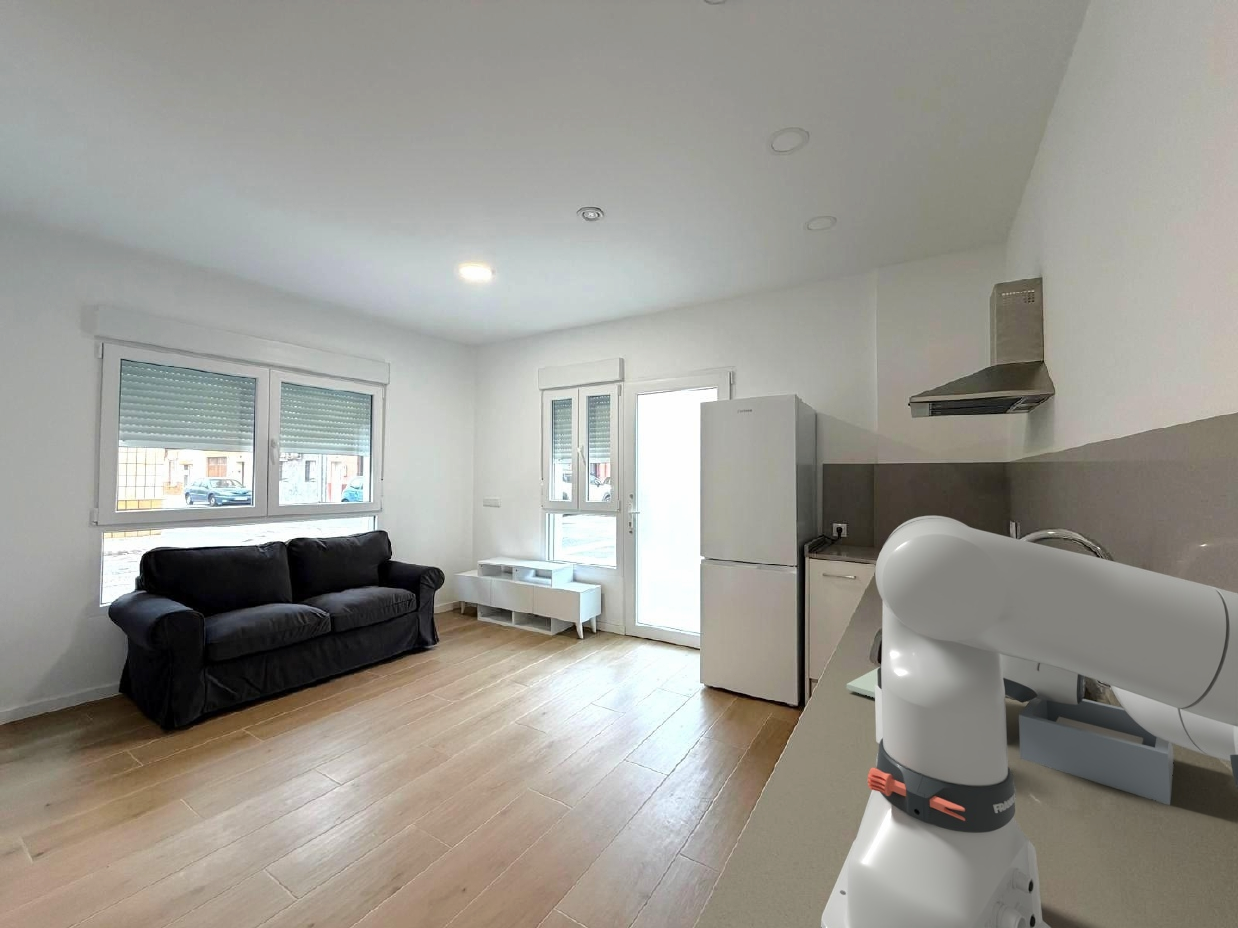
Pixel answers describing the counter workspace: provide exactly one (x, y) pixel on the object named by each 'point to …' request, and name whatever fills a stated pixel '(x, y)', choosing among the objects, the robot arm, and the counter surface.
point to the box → (1097, 746)
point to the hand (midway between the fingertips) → (898, 636)
